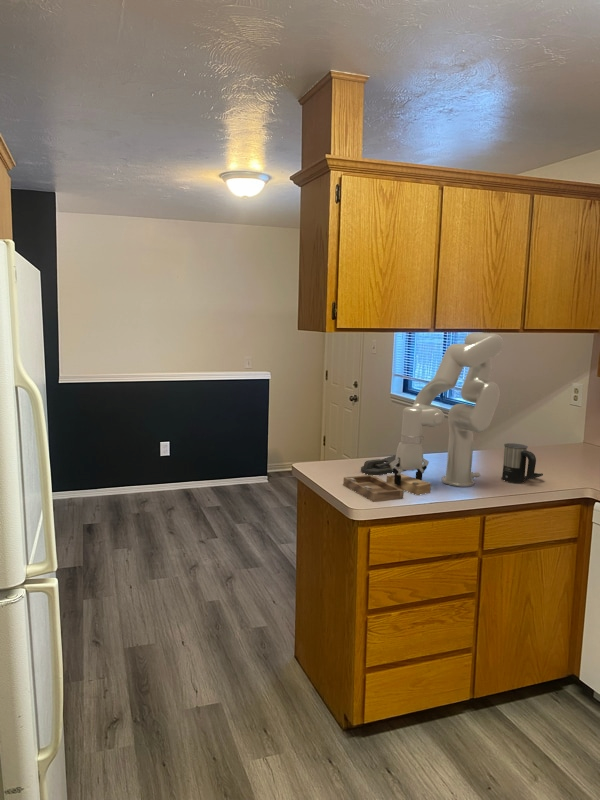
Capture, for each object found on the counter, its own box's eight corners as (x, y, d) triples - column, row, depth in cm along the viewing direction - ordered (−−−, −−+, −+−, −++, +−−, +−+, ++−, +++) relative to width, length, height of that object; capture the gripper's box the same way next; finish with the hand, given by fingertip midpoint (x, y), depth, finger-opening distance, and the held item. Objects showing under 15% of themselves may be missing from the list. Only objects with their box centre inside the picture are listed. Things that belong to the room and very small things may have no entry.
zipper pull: (418, 455, 256) (371, 460, 243) (417, 470, 257) (370, 476, 244) (404, 451, 263) (358, 456, 250) (403, 465, 264) (357, 471, 251)
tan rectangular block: (386, 485, 233) (386, 475, 233) (398, 483, 237) (399, 472, 237) (417, 496, 221) (418, 485, 220) (430, 493, 225) (430, 482, 224)
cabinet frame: (343, 485, 230) (343, 475, 229) (371, 482, 235) (371, 472, 235) (373, 501, 211) (374, 491, 210) (403, 498, 216) (403, 488, 215)
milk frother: (497, 480, 247) (500, 444, 244) (511, 473, 259) (514, 439, 256) (532, 487, 238) (535, 451, 235) (545, 480, 250) (549, 445, 247)
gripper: (423, 436, 234) (420, 479, 236) (386, 438, 227) (383, 482, 229) (435, 440, 227) (432, 484, 230) (397, 442, 220) (394, 488, 222)
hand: (407, 483), depth 229 cm, fingers open, 9 cm apart
